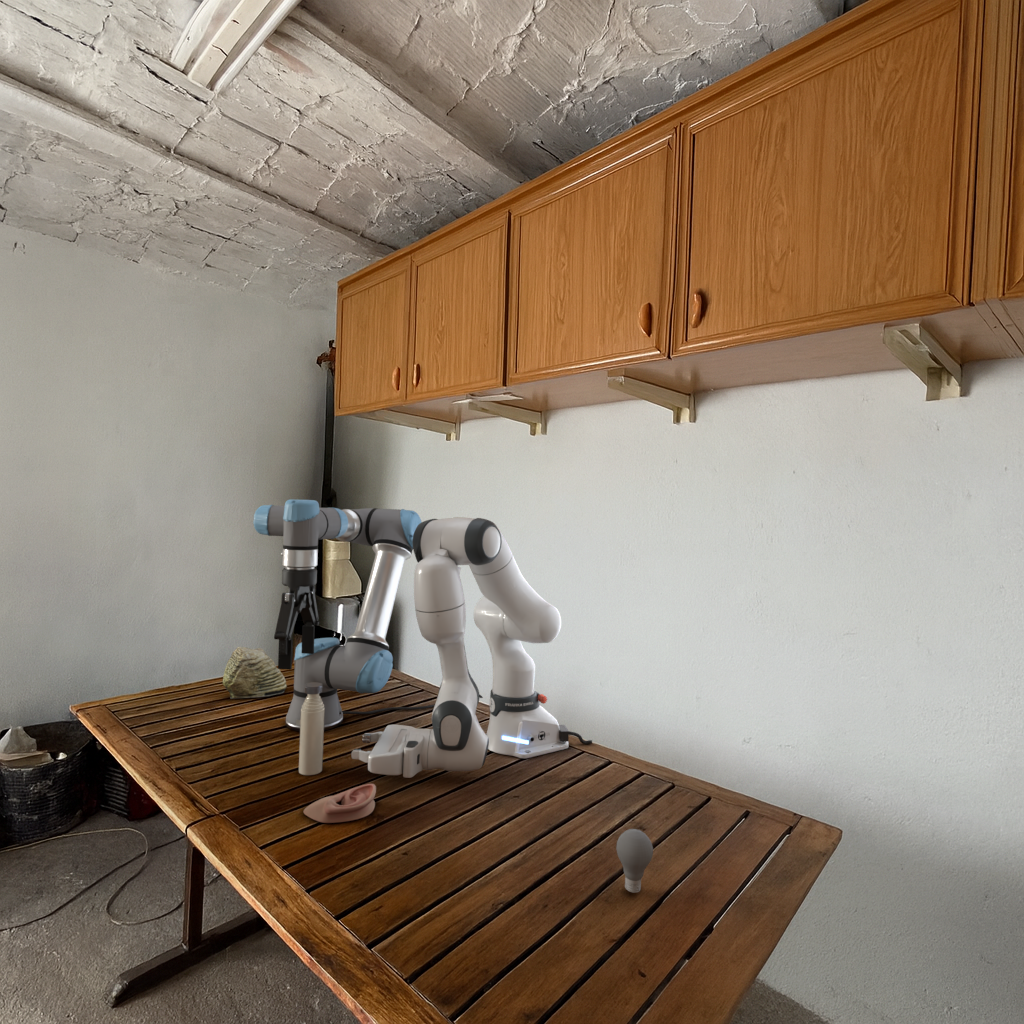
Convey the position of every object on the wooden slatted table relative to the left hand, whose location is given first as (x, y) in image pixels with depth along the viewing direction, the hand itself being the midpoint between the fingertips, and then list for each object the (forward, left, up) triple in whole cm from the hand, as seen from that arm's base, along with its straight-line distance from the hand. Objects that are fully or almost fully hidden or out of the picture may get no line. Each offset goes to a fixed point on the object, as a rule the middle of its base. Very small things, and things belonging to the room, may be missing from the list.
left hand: (296, 660), depth 144 cm
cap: (-4, +2, -6) cm, 7 cm away
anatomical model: (+3, +22, -26) cm, 34 cm away
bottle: (-4, +2, -26) cm, 26 cm away
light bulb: (-14, +79, -26) cm, 84 cm away
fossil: (-23, -57, -26) cm, 67 cm away
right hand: (-10, +10, -19) cm, 24 cm away
